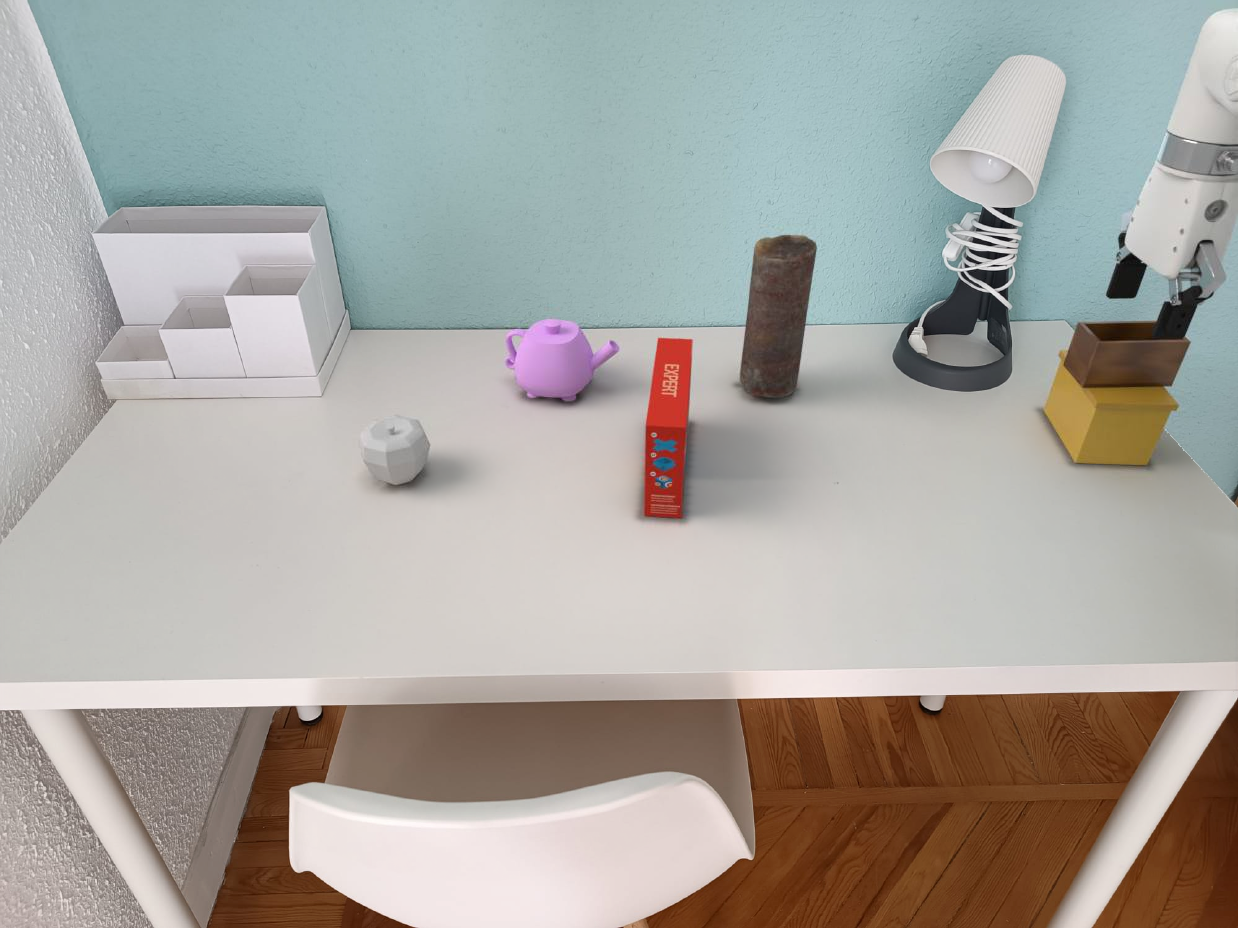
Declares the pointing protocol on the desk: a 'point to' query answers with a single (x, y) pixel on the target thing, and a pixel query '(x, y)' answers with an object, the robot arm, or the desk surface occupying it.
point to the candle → (777, 314)
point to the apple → (394, 449)
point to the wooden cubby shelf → (1123, 355)
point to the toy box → (667, 428)
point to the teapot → (555, 359)
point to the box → (1107, 419)
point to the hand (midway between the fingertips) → (1142, 317)
